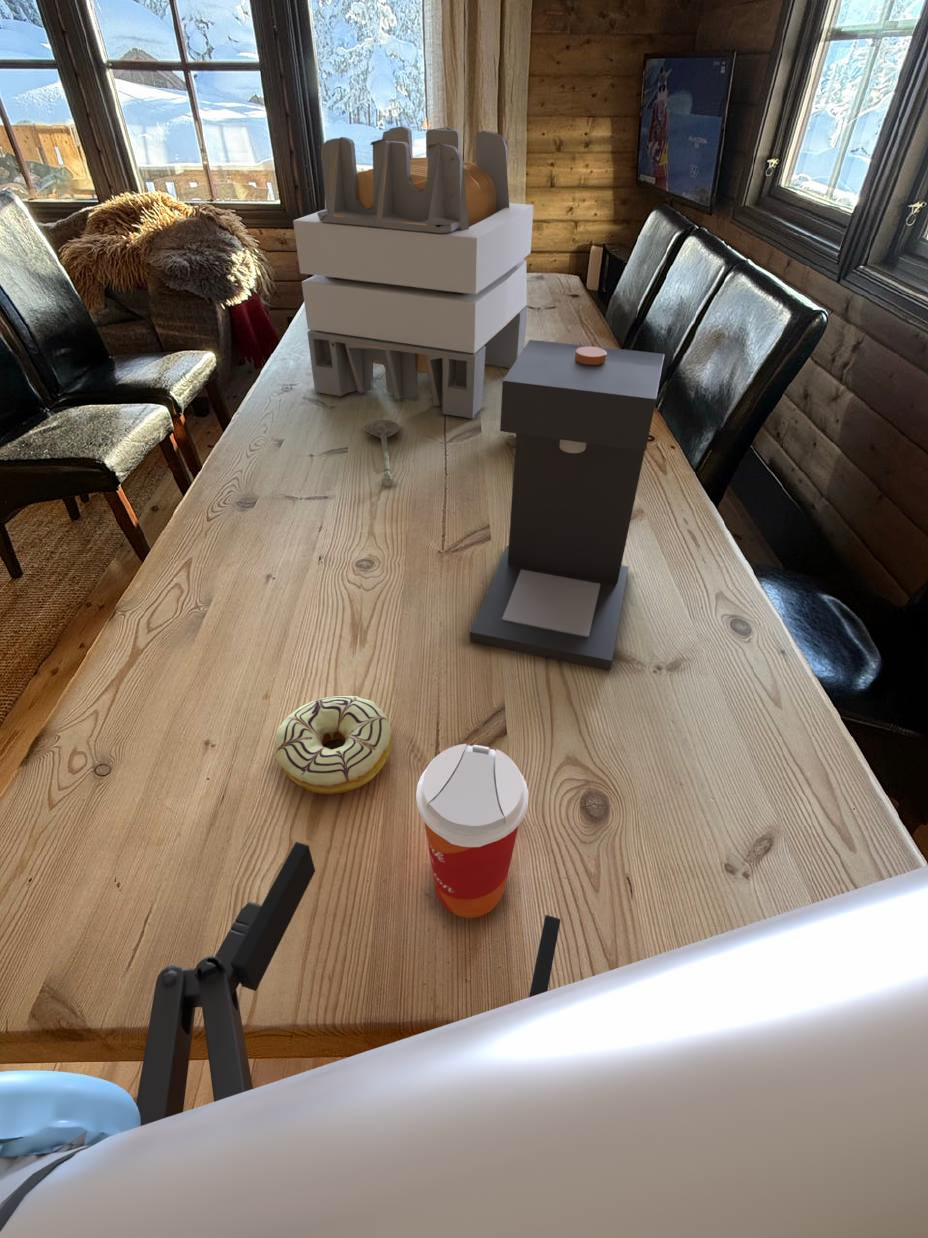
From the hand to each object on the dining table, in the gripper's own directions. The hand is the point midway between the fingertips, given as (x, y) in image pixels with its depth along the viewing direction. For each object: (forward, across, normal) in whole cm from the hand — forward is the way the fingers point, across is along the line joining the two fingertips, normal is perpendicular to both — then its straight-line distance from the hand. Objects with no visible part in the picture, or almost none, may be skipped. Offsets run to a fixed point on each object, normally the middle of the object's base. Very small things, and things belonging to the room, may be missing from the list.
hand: (423, 890), depth 35 cm
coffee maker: (+46, 0, -18) cm, 49 cm away
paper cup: (+10, 0, -18) cm, 20 cm away
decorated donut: (+19, -16, -18) cm, 30 cm away
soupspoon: (+77, -34, -18) cm, 86 cm away
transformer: (+112, -39, -18) cm, 120 cm away
